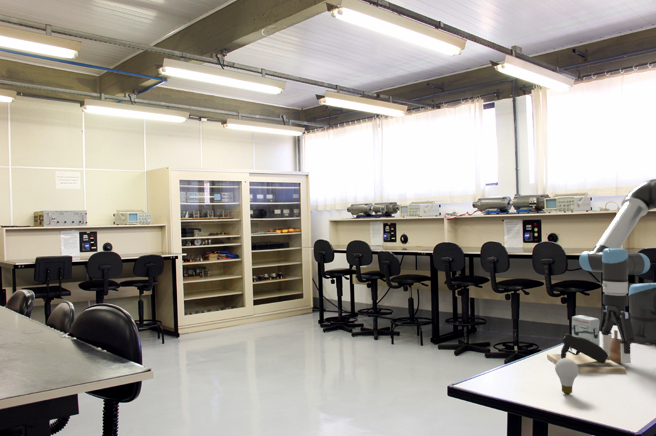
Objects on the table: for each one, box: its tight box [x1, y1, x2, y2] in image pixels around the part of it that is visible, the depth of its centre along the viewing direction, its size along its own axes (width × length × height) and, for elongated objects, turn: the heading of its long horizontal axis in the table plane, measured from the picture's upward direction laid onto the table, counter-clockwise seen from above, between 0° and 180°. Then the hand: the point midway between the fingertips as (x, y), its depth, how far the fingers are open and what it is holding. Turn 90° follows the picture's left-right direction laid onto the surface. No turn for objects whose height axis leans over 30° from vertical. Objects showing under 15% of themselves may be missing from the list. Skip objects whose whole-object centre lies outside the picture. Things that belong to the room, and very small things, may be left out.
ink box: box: [571, 314, 601, 347], centre depth 190 cm, size 9×5×12 cm, turn 25°
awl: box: [609, 329, 624, 366], centre depth 170 cm, size 4×4×11 cm
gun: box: [560, 333, 610, 363], centre depth 166 cm, size 3×16×10 cm, turn 87°
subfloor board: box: [546, 353, 627, 374], centre depth 167 cm, size 18×17×2 cm
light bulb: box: [554, 358, 579, 396], centre depth 139 cm, size 6×6×10 cm
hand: (616, 358), depth 170 cm, fingers open, 11 cm apart
